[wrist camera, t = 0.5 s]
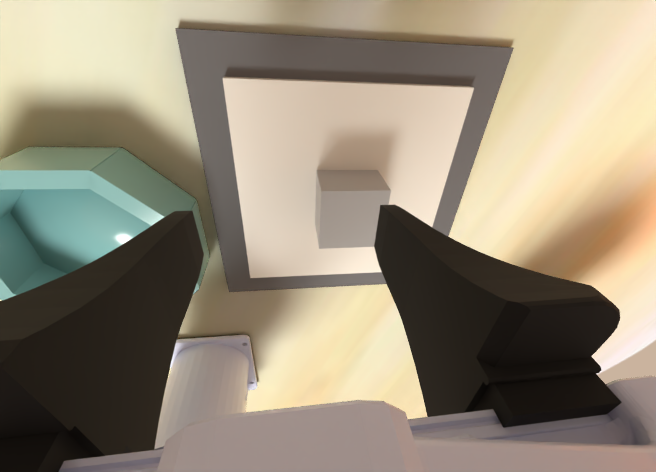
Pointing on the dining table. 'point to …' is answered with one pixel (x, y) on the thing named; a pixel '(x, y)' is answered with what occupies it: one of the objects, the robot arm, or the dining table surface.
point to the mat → (330, 65)
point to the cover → (335, 166)
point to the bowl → (77, 210)
